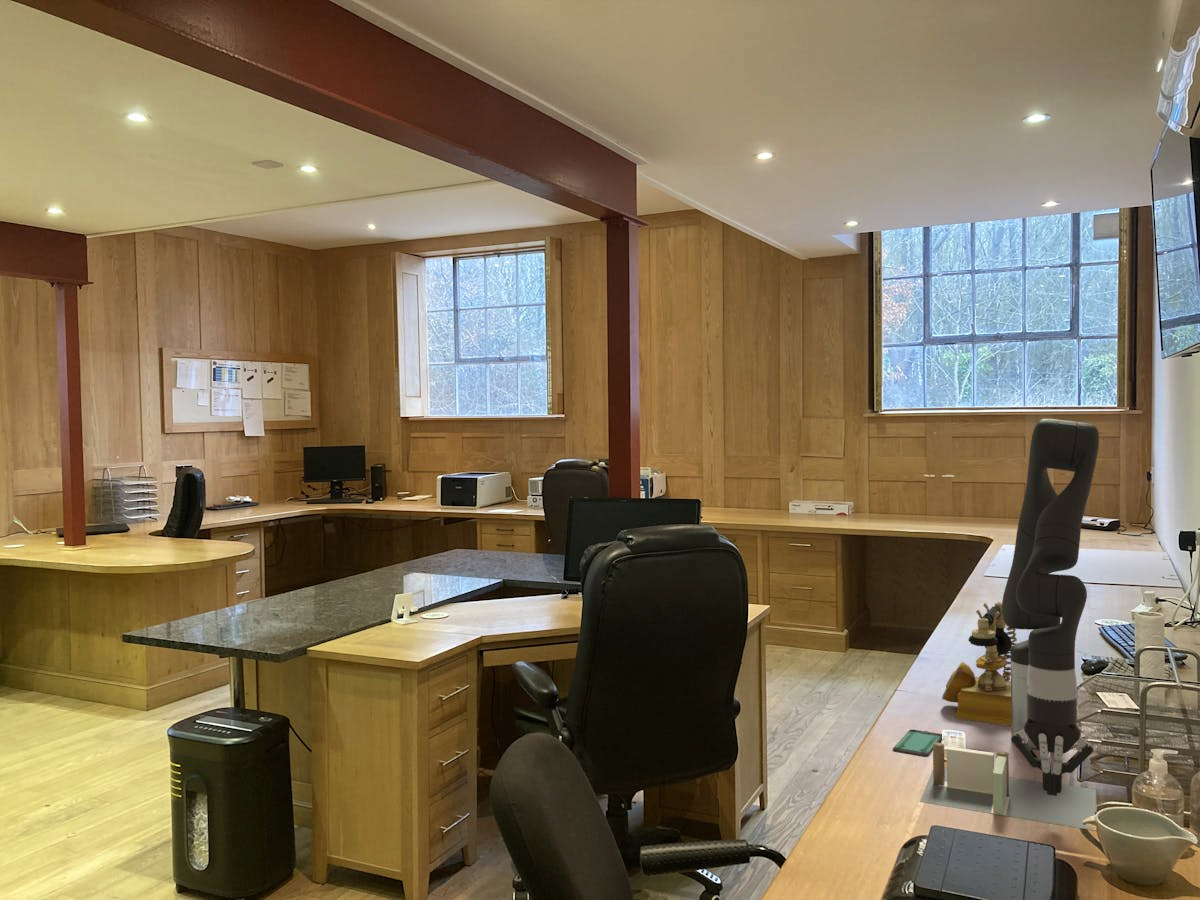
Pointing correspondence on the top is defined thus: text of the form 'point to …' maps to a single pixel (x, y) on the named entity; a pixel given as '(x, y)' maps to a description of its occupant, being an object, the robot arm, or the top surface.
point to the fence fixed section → (966, 768)
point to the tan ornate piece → (985, 673)
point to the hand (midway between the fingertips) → (1052, 793)
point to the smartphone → (918, 743)
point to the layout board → (1021, 801)
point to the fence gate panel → (999, 785)
